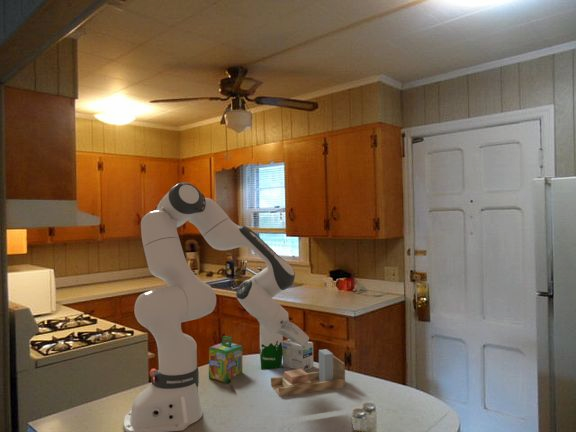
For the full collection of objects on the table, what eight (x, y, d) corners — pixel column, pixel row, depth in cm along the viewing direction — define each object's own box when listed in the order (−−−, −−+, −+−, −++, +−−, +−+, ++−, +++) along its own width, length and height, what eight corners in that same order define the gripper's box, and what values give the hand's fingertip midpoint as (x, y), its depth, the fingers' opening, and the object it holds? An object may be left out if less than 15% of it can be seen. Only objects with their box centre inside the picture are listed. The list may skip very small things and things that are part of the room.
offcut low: (288, 393, 143) (288, 385, 143) (282, 385, 150) (282, 378, 150) (311, 389, 146) (311, 382, 146) (304, 382, 152) (304, 375, 152)
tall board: (325, 386, 148) (324, 354, 148) (319, 381, 153) (318, 349, 153) (333, 385, 149) (332, 353, 149) (326, 380, 154) (326, 349, 154)
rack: (279, 400, 141) (279, 371, 141) (270, 388, 150) (270, 361, 150) (345, 390, 148) (344, 363, 148) (333, 379, 158) (332, 354, 158)
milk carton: (284, 363, 176) (283, 313, 176) (280, 371, 167) (279, 319, 167) (263, 362, 177) (262, 313, 177) (258, 370, 168) (257, 318, 168)
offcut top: (291, 384, 144) (291, 377, 144) (284, 378, 150) (283, 371, 150) (308, 381, 147) (308, 374, 147) (300, 375, 152) (300, 368, 152)
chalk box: (208, 378, 160) (207, 338, 160) (225, 371, 168) (224, 332, 168) (226, 383, 155) (226, 342, 155) (243, 375, 163) (243, 336, 163)
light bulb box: (314, 369, 168) (313, 341, 168) (303, 374, 163) (303, 346, 163) (293, 363, 175) (292, 337, 175) (281, 368, 170) (281, 340, 170)
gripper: (295, 317, 136) (323, 344, 141) (268, 306, 154) (293, 330, 159) (283, 333, 134) (311, 360, 139) (257, 320, 152) (282, 344, 157)
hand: (301, 344), depth 149 cm, fingers open, 8 cm apart
